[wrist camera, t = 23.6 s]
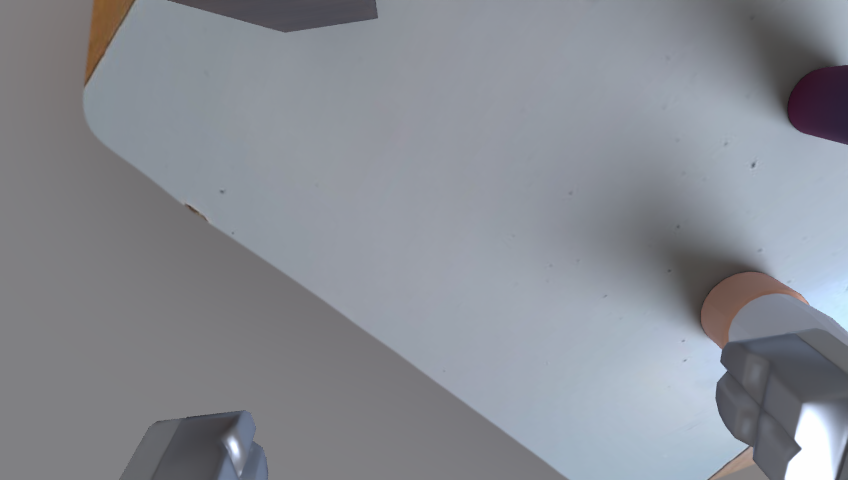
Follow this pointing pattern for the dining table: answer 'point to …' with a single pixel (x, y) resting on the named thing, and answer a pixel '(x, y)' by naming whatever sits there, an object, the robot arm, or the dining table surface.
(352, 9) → the shelf post
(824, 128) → the cup
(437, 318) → the dining table surface
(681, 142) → the dining table surface
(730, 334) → the pepper shaker
